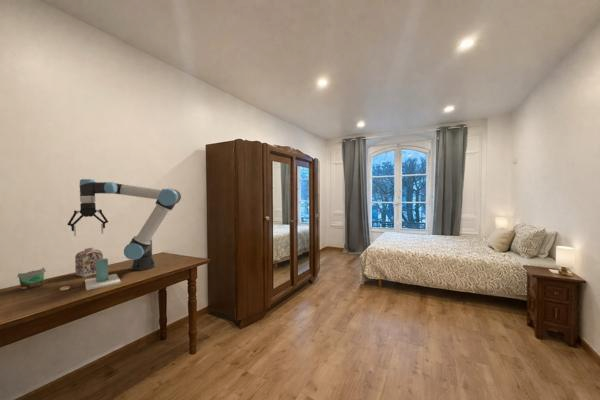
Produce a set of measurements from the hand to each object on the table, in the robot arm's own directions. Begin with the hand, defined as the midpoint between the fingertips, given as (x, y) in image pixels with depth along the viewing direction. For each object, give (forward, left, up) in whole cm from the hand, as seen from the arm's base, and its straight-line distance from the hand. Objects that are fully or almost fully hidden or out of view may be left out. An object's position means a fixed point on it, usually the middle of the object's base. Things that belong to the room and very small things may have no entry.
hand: (89, 234), depth 160 cm
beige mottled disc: (+12, +15, -29) cm, 35 cm away
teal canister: (-5, +17, -28) cm, 33 cm away
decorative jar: (0, -11, -29) cm, 31 cm away
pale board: (-5, +17, -29) cm, 34 cm away
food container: (+25, -2, -29) cm, 38 cm away
